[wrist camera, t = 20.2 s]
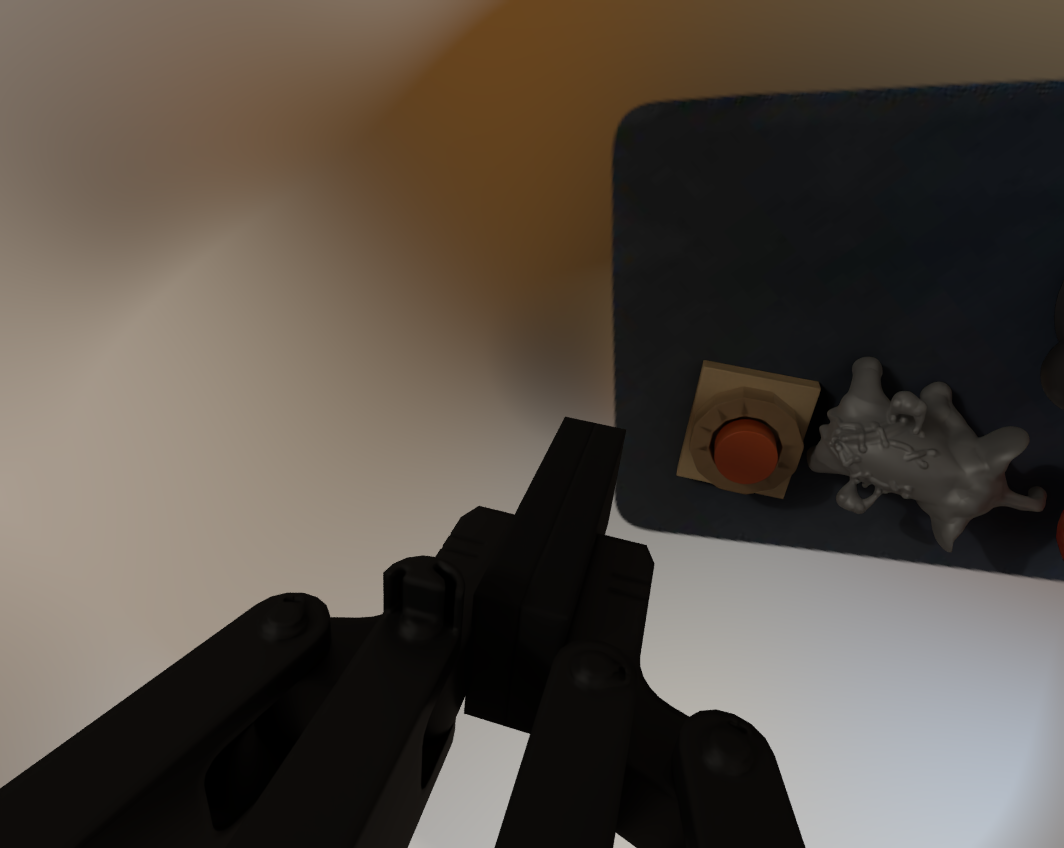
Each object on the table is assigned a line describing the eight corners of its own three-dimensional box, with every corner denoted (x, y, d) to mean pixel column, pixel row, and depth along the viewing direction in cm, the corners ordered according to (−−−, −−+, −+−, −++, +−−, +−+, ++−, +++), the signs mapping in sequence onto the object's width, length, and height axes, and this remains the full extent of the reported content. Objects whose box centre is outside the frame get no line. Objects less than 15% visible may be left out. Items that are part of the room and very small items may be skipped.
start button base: (703, 359, 41) (702, 376, 38) (818, 381, 40) (825, 400, 37) (677, 467, 45) (674, 489, 42) (781, 490, 43) (785, 514, 41)
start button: (722, 413, 39) (722, 425, 38) (783, 425, 39) (785, 438, 37) (708, 463, 41) (708, 477, 40) (767, 476, 40) (768, 490, 39)
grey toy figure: (815, 350, 39) (834, 400, 32) (1050, 351, 36) (1124, 408, 29) (800, 483, 43) (814, 552, 36) (1011, 495, 40) (1069, 574, 33)
